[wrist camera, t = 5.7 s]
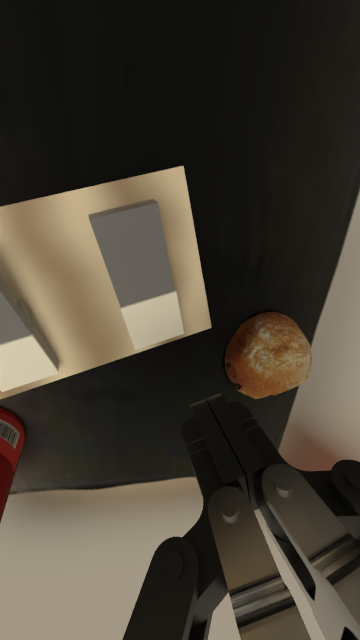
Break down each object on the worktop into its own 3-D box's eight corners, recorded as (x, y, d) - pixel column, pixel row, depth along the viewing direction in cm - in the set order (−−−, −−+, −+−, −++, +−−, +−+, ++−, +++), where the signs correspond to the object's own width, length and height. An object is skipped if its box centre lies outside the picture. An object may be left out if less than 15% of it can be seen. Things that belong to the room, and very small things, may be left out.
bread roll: (279, 338, 37) (338, 346, 30) (249, 404, 34) (307, 428, 27) (239, 296, 32) (299, 294, 26) (201, 369, 30) (257, 387, 23)
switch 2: (151, 196, 16) (159, 202, 15) (176, 319, 23) (184, 333, 21) (87, 211, 16) (88, 220, 14) (130, 334, 22) (135, 350, 20)
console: (169, 171, 21) (183, 165, 18) (197, 314, 27) (212, 330, 24) (-104, 233, 18) (-152, 241, 14) (-3, 379, 24) (-20, 409, 21)
